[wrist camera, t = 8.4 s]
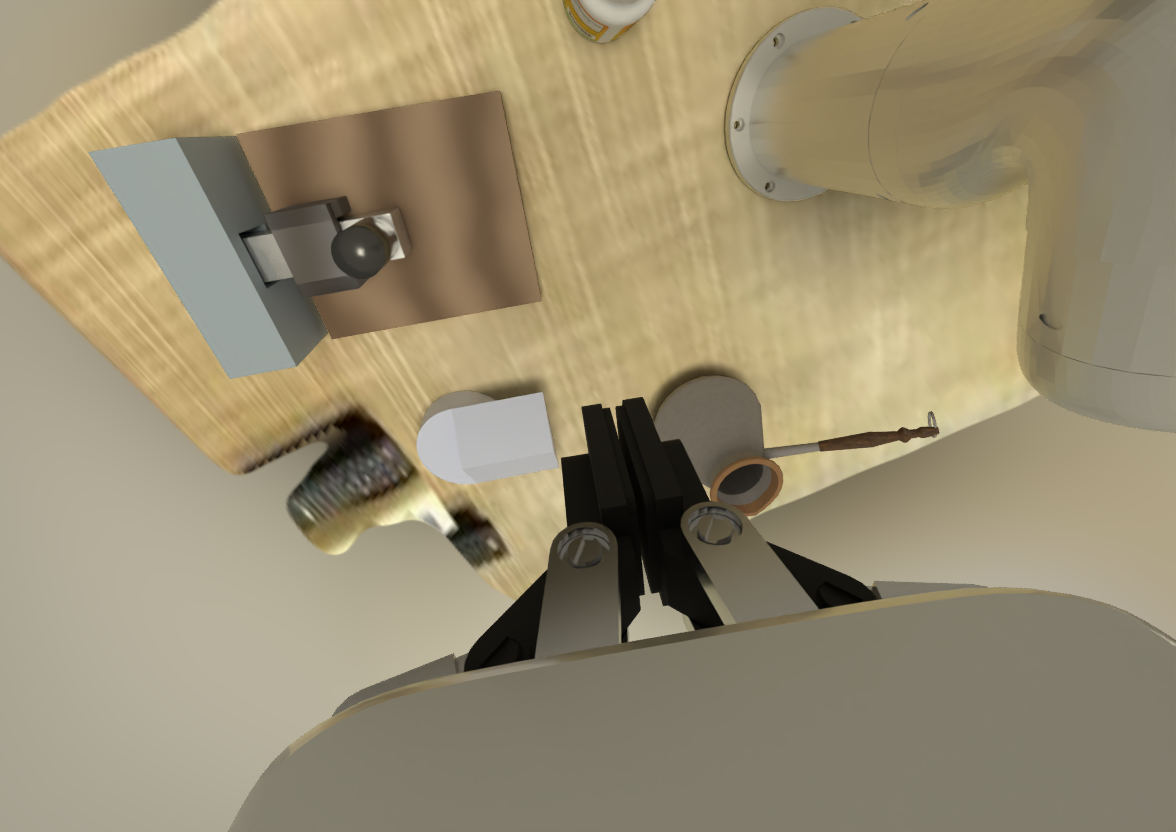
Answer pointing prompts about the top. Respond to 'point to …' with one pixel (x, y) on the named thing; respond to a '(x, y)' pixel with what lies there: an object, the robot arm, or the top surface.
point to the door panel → (401, 210)
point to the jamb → (213, 247)
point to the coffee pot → (743, 440)
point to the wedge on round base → (486, 437)
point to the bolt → (341, 246)
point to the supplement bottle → (605, 17)
